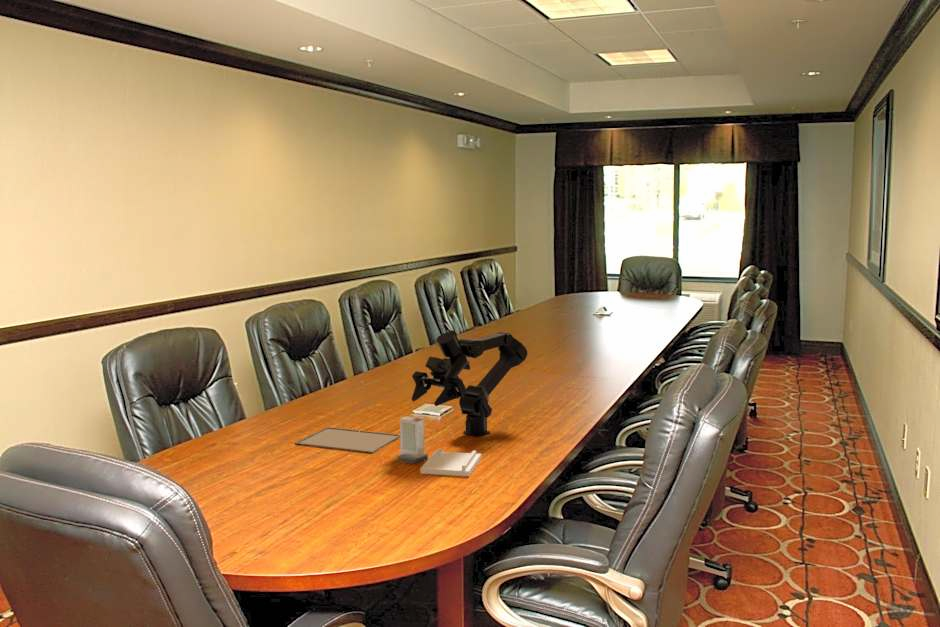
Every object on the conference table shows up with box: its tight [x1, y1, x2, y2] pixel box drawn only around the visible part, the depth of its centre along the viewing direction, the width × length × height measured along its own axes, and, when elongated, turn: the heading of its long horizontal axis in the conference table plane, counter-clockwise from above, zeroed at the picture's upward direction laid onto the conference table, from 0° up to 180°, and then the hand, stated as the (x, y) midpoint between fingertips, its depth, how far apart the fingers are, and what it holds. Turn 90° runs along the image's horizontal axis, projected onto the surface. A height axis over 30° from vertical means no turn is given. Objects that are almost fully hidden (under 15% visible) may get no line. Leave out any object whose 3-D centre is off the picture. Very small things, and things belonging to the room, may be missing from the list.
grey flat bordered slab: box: [294, 426, 400, 454], centre depth 266 cm, size 19×1×28 cm
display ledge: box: [419, 448, 482, 477], centre depth 240 cm, size 16×14×3 cm
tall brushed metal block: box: [397, 416, 429, 466], centre depth 245 cm, size 6×6×12 cm
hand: (423, 402), depth 251 cm, fingers open, 9 cm apart
